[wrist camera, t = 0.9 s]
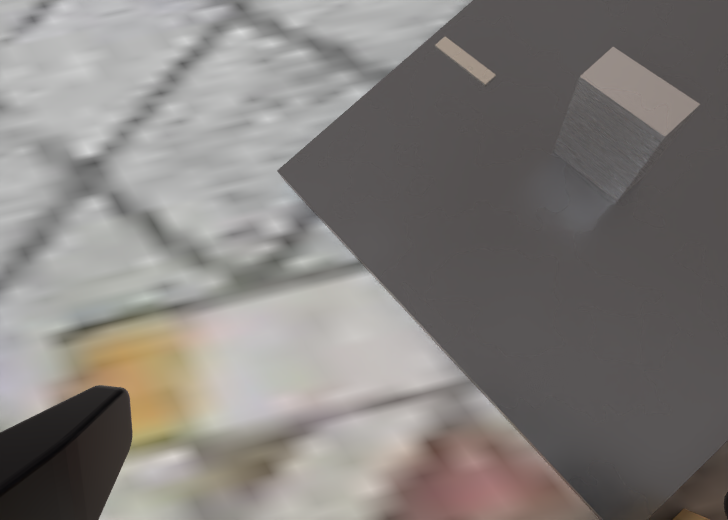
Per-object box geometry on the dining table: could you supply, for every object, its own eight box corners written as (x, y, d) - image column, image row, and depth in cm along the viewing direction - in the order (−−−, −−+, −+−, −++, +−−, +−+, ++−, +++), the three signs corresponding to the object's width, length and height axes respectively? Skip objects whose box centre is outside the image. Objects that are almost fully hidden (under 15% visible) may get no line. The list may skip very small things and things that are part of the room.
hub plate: (986, 168, 17) (1218, 61, 12) (614, 534, 16) (688, 593, 11) (574, -72, 23) (607, -212, 18) (285, 181, 22) (231, 110, 17)
